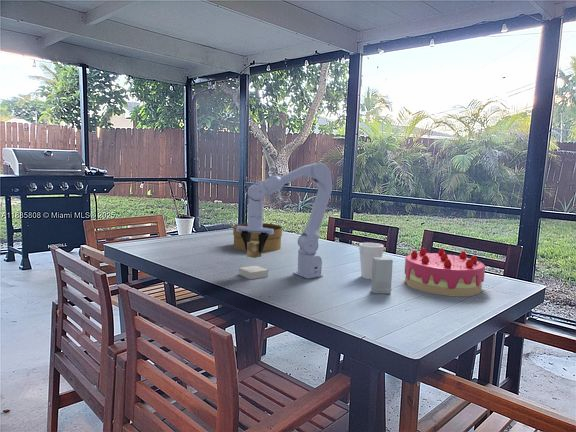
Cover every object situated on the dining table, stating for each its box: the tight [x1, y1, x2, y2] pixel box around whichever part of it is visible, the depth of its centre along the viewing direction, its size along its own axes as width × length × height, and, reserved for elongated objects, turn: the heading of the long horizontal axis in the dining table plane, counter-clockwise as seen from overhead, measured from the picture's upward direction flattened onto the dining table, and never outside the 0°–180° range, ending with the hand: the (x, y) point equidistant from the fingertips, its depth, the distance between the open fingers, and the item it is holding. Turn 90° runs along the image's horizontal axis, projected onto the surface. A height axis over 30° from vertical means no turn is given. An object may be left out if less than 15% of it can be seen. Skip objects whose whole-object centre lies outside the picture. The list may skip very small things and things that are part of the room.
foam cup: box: [358, 242, 385, 280], centre depth 166 cm, size 10×9×13 cm
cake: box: [404, 247, 486, 297], centre depth 159 cm, size 28×28×12 cm
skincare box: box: [370, 257, 394, 295], centre depth 146 cm, size 6×4×12 cm
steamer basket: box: [232, 222, 283, 253], centre depth 217 cm, size 25×25×11 cm
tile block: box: [238, 265, 269, 280], centre depth 162 cm, size 8×8×3 cm
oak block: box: [246, 241, 263, 259], centre depth 161 cm, size 4×4×6 cm
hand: (254, 251), depth 161 cm, fingers closed on oak block, 5 cm apart
